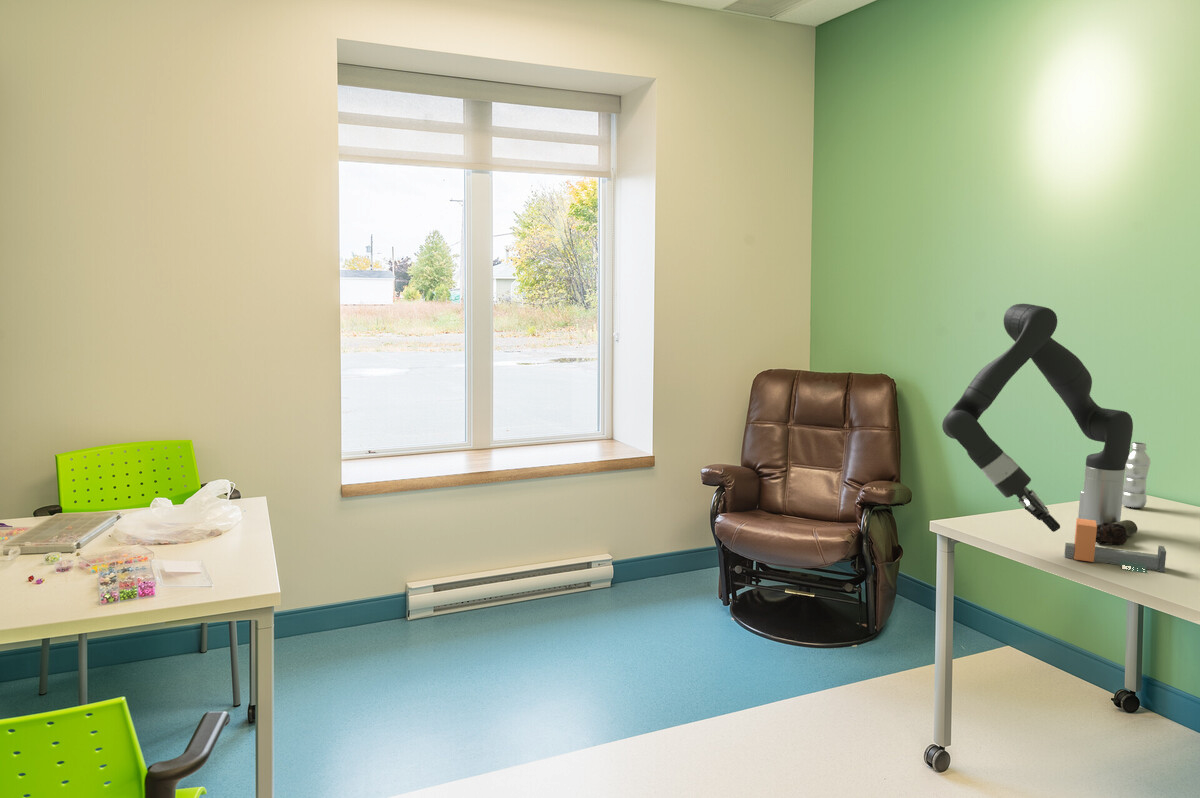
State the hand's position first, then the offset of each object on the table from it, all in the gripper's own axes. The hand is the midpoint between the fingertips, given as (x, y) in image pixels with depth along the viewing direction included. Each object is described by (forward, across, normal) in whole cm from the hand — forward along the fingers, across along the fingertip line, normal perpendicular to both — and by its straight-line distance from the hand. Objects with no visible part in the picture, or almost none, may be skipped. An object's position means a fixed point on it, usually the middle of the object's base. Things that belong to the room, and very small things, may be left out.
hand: (1057, 529), depth 199 cm
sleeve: (+9, 0, 0) cm, 9 cm away
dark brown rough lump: (+14, +22, -5) cm, 27 cm away
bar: (+13, 0, -4) cm, 14 cm away
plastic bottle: (+19, +68, -10) cm, 71 cm away
